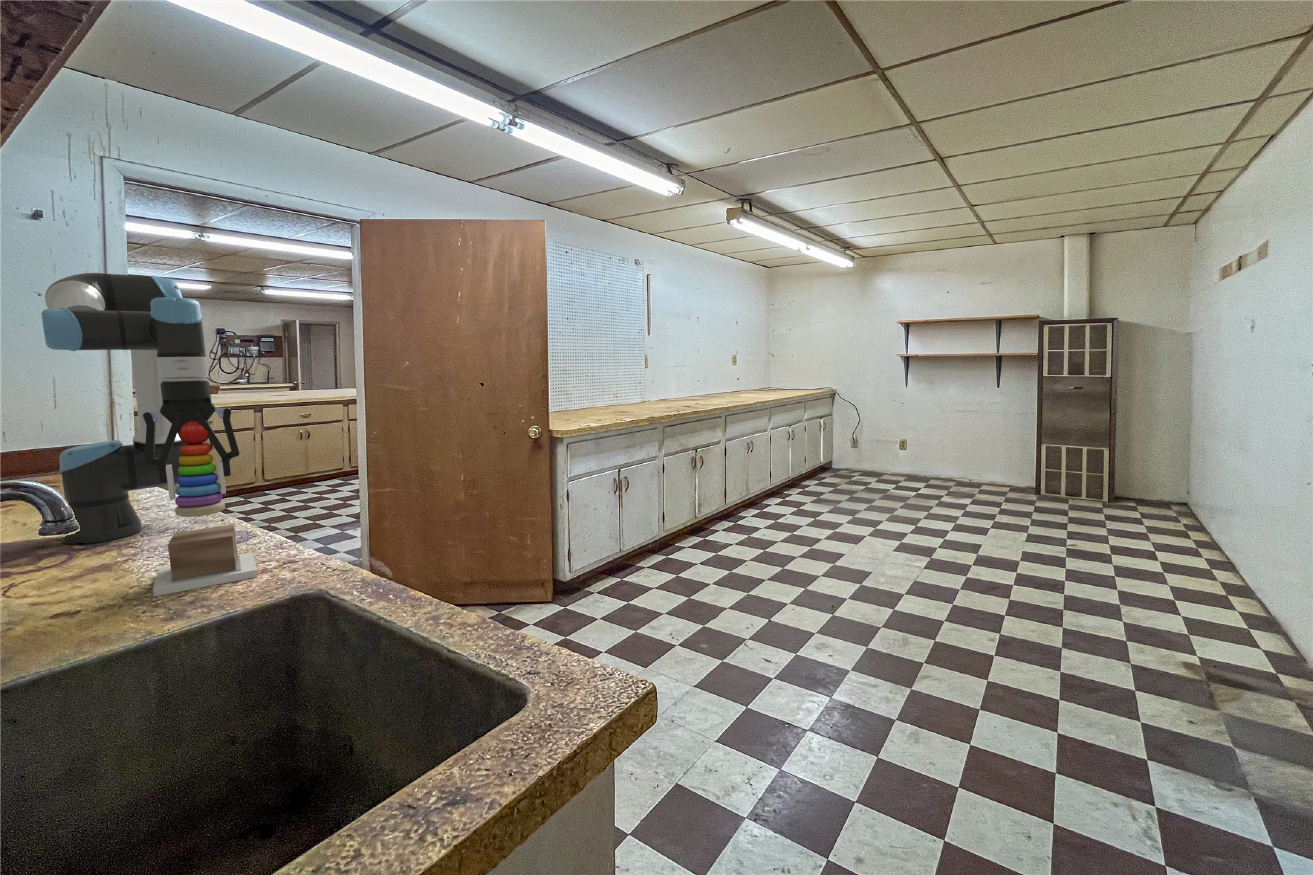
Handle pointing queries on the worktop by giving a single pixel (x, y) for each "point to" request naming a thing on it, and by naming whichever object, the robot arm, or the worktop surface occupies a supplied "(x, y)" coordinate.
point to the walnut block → (203, 552)
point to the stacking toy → (196, 474)
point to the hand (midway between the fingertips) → (198, 495)
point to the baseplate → (204, 577)
